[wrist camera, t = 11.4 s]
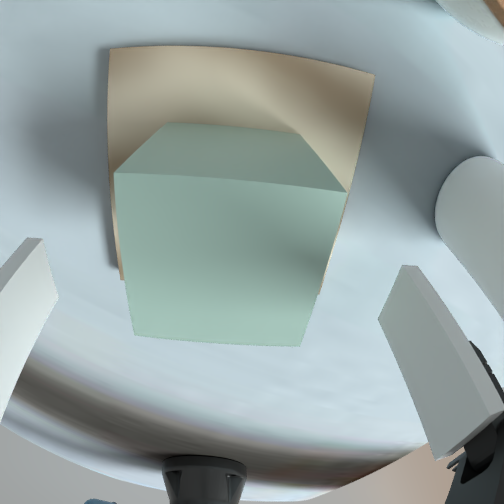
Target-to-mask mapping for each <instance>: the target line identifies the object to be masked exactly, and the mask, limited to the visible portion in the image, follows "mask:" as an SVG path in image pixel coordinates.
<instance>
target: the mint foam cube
mask: <svg viewBox="0 0 504 504" xmlns="http://www.w3.org/2000/svg"><path fill="white" fill-rule="evenodd" d="M114 189H115V203H116V215H117V225H118V235H119V244H120V252H121V260H122V267H123V274H124V280H125V287H126V293H127V299H128V305H129V310H130V316H131V321H132V326H133V331H134V335H135V336H143V337H152V338H161V339H171V340H181V341H192V342H205V343H219V344H236V345H257V346H294V347H300V345H301V342H302V339H303V336H304V334H305V331H306V328H307V325H308V322H309V319H310V316H311V313H312V310H313V307H314V304H315V301H316V298H317V295H318V292H319V289H320V286H321V283H322V280H323V277H324V273H325V270H326V267H327V264H328V261H329V257H330V254H331V251H332V247H333V244H334V240H335V237H336V234H337V230H338V227H339V223H340V220H341V216H342V212H343V209H344V205H345V201H346V197H347V194H348V193H347V191H346V190H345V189H344V188H343V186H342V185H341V184H340V182H339V181H338V180H337V179H336V177H335V176H334V175H333V174H332V172H331V171H330V170H329V169H328V167H327V166H326V165H325V164H324V162H323V161H322V160H321V159H320V157H319V156H318V155H317V154H316V153H315V151H314V150H313V149H312V148H311V147H310V145H309V144H308V143H307V142H306V141H305V140H304V138H303V137H302V136H301V135H300V134H294V133H287V132H280V131H272V130H264V129H255V128H246V127H236V126H224V125H211V124H195V123H174V122H167V123H166V124H165V125H164V126H163V127H161V128H160V129H159V130H158V131H157V132H156V133H155V134H154V135H152V136H151V137H150V138H149V139H148V140H147V141H146V142H145V143H144V144H143V145H142V146H140V147H139V148H138V149H137V150H136V151H135V152H134V153H133V154H132V155H131V156H130V157H129V158H128V159H127V160H126V161H125V162H124V163H123V164H122V165H121V166H120V167H119V168H118V169H117V170H116V171H115V172H114Z"/></svg>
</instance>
